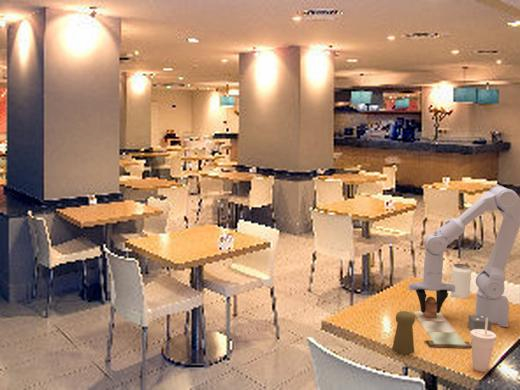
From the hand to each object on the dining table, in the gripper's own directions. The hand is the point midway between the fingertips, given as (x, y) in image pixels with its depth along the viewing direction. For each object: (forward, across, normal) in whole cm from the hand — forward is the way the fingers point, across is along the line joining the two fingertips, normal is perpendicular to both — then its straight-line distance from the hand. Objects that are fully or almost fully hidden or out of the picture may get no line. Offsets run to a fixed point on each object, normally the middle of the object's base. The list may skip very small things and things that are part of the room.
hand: (430, 311), depth 180 cm
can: (+3, -17, -23) cm, 29 cm away
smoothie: (+3, -4, +35) cm, 35 cm away
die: (+2, -12, +11) cm, 16 cm away
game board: (+2, 0, +9) cm, 9 cm away
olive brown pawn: (+3, +14, +25) cm, 29 cm away
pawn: (+1, 0, 0) cm, 1 cm away
